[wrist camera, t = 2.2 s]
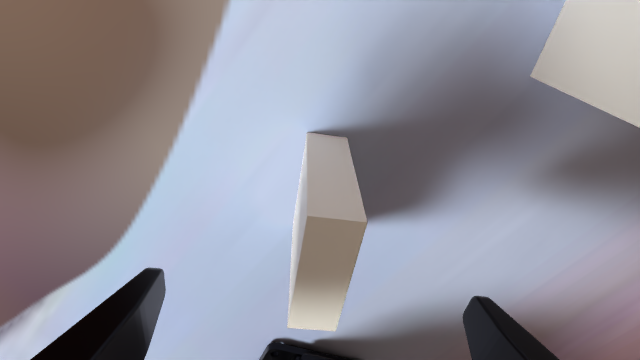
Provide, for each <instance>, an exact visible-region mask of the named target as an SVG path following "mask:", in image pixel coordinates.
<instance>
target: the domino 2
mask: <svg viewBox="0 0 640 360" xmlns="http://www.w3.org/2000/svg"><path fill="white" fill-rule="evenodd" d="M530 77H532V78H534V79H536V80H538V81H540V82H543V83H545V84H547V85H549V86H551V87H553V88H555V89H558V90H560V91H562V92H564V93H566V94H568V95H570V96H573V97H575V98H577V99H579V100H581V101H583V102H585V103H588V104H590V105H592V106H594V107H596V108H598V109H600V110H603V111H605V112H607V113H609V114H611V115H613V116H615V117H618V118H620V119H622V120H624V121H626V122H628V123H630V124H633V125H635V126H637V127H639V128H640V0H566V1H565V3H564V5H563V7H562V10H561V12H560V14H559V16H558V18H557V20H556V22H555V24H554V27H553V29H552V31H551V33H550V35H549V37H548V39H547V41H546V44H545V46H544V48H543V50H542V52H541V54H540V56H539V58H538V61H537V63H536V65H535V67H534V69H533V71H532V73H531V75H530Z"/></svg>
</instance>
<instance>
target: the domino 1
mask: <svg viewBox="0 0 640 360" xmlns="http://www.w3.org/2000/svg"><path fill="white" fill-rule="evenodd" d="M366 226H367V218H366V214H365V210H364V206H363V202H362V198H361V193H360V189H359V185H358V181H357V177H356V173H355V169H354V165H353V161H352V156H351V152H350V148H349V144H348V140H347V138H346V137H339V136H331V135H324V134H317V133H309V132H307V135H306V142H305V148H304V155H303V162H302V168H301V175H300V181H299V188H298V194H297V201H296V207H295V214H294V221H293V233H292V252H291V270H290V289H289V307H288V326H287V328H297V329H311V330H325V331H336V328H337V325H338V321H339V318H340V315H341V311H342V308H343V304H344V301H345V298H346V294H347V291H348V287H349V284H350V280H351V277H352V274H353V270H354V267H355V263H356V260H357V257H358V253H359V250H360V246H361V243H362V240H363V236H364V233H365V229H366Z"/></svg>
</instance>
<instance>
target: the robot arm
mask: <svg viewBox="0 0 640 360" xmlns="http://www.w3.org/2000/svg"><path fill="white" fill-rule="evenodd" d="M165 291H166V289H165V279H164V271H163V270H162V269H160V268H146V269H144V270H143V271H142V272H140V273H139V274H138V275H137V276H135V277H134V278H133V279H132V280H130V281H129V282H128V283H127V284H125V285H124V286H123V287H122V288H120V289H119V290H118V291H116V292H115V293H114V294H113V295H111V296H110V297H109V298H108V299H106V300H105V301H104V302H103V303H101V304H100V305H99V306H98V307H96V308H95V309H94V310H92V311H91V312H90V313H89V314H87V315H86V316H85V317H84V318H82V319H81V320H80V321H79V322H77V323H76V324H75V325H73V326H72V327H71V328H70V329H68V330H67V331H66V332H65V333H63V334H62V335H61V336H60V337H58V338H57V339H56V340H55V341H53V342H52V343H51V344H49V345H48V346H47V347H46V348H44V349H43V350H42V351H41V352H39V353H38V354H37V355H36V356H34V357H33V358H32V359H31V360H144V359H145V356H146V354H147V351H148V348H149V345H150V342H151V339H152V335H153V332H154V329H155V326H156V323H157V320H158V316H159V313H160V310H161V307H162V304H163V300H164V297H165ZM463 323H464V328H465V332H466V336H467V340H468V345H469V349H470V353H471V357H472V360H559V359H558V358H557V357H556V356H555V355H554V354H553V353H552V352H550V351H549V350H548V349H547V348H546V347H545V346H544V345H542V344H541V343H540V342H539V341H538V340H537V339H536V338H534V337H533V336H532V335H531V334H530V333H529V332H528V331H526V330H525V329H524V328H523V327H522V326H521V325H520V324H518V323H517V322H516V321H515V320H514V319H513V318H512V317H510V316H509V315H508V314H507V313H506V312H505V311H504V310H502V309H501V308H500V307H499V306H498V305H497V304H496V303H494V302H493V301H492V300H491V299H490V298H488V297H484V296H474V297H472V299H471V301H470V302H469V304H468V306H467V308H466V309H465V311H464V313H463ZM259 360H350V359H345V358H341V357H337V356H332V355H328V354H324V353H320V352H315V351H311V350H307V349H302V348H298V347H294V346H290V345H285V344H281V343H271V344H269V345H268V346H267V347H266V349H265V351H264V352H263V354H262V356H261V357H260V359H259Z"/></svg>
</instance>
